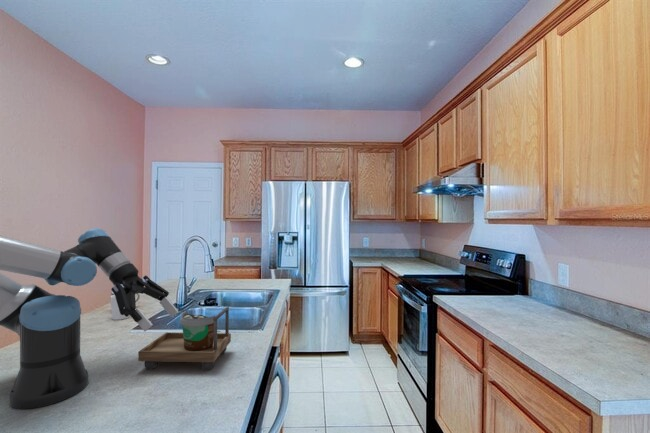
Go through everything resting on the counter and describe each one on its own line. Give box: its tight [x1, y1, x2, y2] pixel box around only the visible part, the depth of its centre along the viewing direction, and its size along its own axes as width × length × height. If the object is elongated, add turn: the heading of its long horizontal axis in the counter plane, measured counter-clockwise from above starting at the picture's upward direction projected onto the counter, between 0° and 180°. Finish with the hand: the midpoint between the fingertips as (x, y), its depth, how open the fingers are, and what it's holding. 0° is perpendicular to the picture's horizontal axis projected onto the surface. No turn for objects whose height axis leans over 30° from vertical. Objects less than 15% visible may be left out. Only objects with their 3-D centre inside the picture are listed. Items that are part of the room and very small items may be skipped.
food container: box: [179, 310, 216, 351], centre depth 96 cm, size 12×6×10 cm, turn 68°
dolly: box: [137, 306, 232, 372], centre depth 97 cm, size 15×22×15 cm
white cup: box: [110, 294, 131, 321], centre depth 139 cm, size 8×8×10 cm
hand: (163, 320), depth 97 cm, fingers open, 13 cm apart
